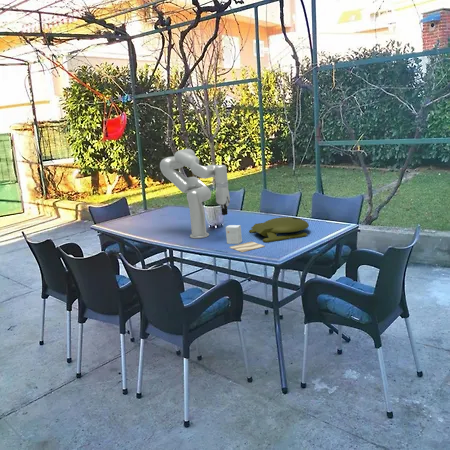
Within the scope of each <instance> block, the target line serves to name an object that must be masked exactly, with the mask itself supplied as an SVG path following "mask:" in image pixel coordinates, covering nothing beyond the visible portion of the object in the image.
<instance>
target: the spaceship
mask: <svg viewBox="0 0 450 450" xmlns="http://www.w3.org/2000/svg"><path fill="white" fill-rule="evenodd" d="M309 226H310V225H309V223H308V221H306V220H304V219H302V218H299V217H294V216H293V217H292V216H287V217H286V216H282V217H281V216H280V217H275V218H274V217H273V218H271V219H268V220H266V221H264V222H259V223H255V224H254V225H253V226H251V228H250V229H249V230H248V233H250V234H257V233H258V234H259V235H261V236H263V237H264V238H263V239H262V242H263V243H272V242H278V241H286V240H292V239H298V238H304V237H307V236H308V233H307V232H303V230H306V229H308V228H309ZM299 231H300V232H299ZM301 231H302V232H301ZM295 232H296V233H295ZM282 233H289V234H284V235H278V234H282ZM290 233H291V234H290Z"/></svg>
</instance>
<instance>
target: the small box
mask: <svg viewBox="0 0 450 450" xmlns="http://www.w3.org/2000/svg"><path fill="white" fill-rule="evenodd" d="M241 226H242V225H241V224H237V225H236V224H229V225H227V226H225V236H226V244H229V245H239V244H242V242H243V238H242V237H243V236H242V227H241Z"/></svg>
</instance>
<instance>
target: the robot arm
mask: <svg viewBox="0 0 450 450" xmlns="http://www.w3.org/2000/svg"><path fill="white" fill-rule="evenodd" d="M183 167H187V168H189V169H190V171H191V172H192V174H193V175H194V176H189V177H186V176H185V175H184V174H182V173H181V172H180V171H178V170H177V169H181V168H183ZM159 169H160V171H161V174H162V175H163V176H164V177H165V178H166V179H167V180H169V181H170V182H171V183H172V184H173V185H174V186H175V187H176V188H177V189H178V190H179V191H180V192H181V193H183V194H186V200H187V204H188V208H189V218H190V226H191V227H190V231H191V233H190V234H189V238H191V239H204V238H207V237H209V235H210V234H209V232H207V223H206V215H205V214H206V213H205V207H204V205H203V204H202V203H203V202H206V201H208V200H210V199H211V198H212V191H211V189H210V188H209V186H207V185H206V184H205V183H204V182H203V181H202V180H201V179H204V180H205V179H209V178H214V179H215V202H216V203H217V204H218V205H220V209H221V215H223V216H226V215H228V207H229V206H230V202H231V196H230V191H229V181H228V179H229V178H228V171H227V170H228V169H227V166H226V165H225V164H209V165H202V164H200V158H199V157H198V156H196V153H195V151H194V150H193V149H191V148H186V149H185V148H184V149H179V150H177V151H176V152H175V153H174V155H173V156H168V157H164V158H163V159H161V161H160V162H159ZM198 177H199V178H201V179H199V178H198Z"/></svg>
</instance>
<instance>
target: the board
mask: <svg viewBox="0 0 450 450" xmlns="http://www.w3.org/2000/svg"><path fill="white" fill-rule="evenodd" d="M228 248H229V249H232V250H235V251H236V252H239V253H245V252H250V251H255V250H257V249H261V248H266V246H265V245H264V244H261V243H257V242H255V241H248V242H244V243H239V244H234V245H231V246H229V247H228Z"/></svg>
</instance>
